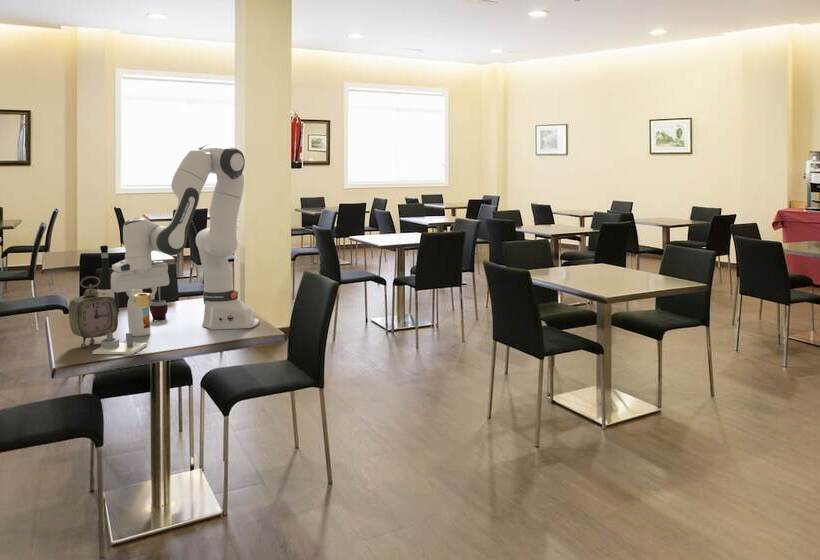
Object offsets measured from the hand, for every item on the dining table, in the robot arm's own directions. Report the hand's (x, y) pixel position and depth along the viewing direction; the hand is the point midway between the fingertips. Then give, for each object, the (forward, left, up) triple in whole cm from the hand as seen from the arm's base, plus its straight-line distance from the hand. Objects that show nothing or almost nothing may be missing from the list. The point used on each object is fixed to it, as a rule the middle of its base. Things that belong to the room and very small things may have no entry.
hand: (142, 301), depth 255 cm
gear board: (+4, +11, -15) cm, 20 cm away
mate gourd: (+10, -38, -16) cm, 42 cm away
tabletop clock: (+18, +3, -16) cm, 24 cm away
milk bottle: (+7, -12, -16) cm, 21 cm away
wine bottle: (+37, -48, -16) cm, 63 cm away
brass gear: (0, 0, -2) cm, 2 cm away
